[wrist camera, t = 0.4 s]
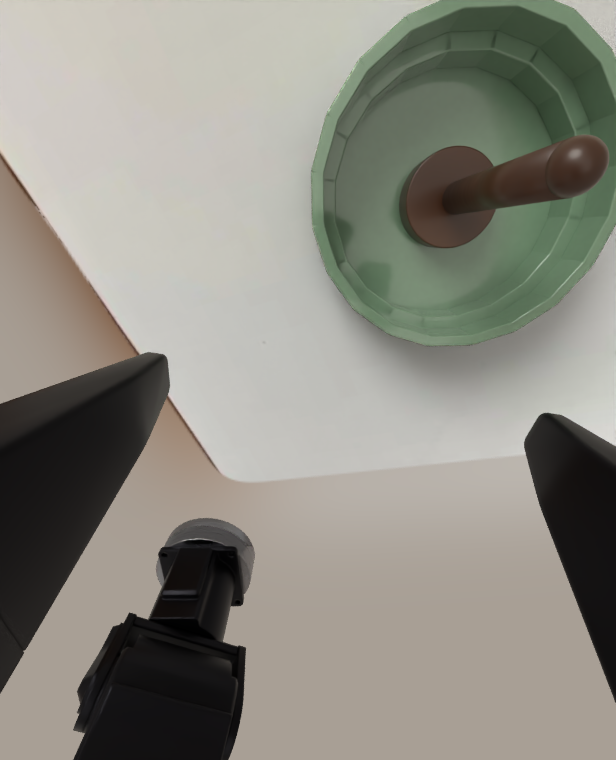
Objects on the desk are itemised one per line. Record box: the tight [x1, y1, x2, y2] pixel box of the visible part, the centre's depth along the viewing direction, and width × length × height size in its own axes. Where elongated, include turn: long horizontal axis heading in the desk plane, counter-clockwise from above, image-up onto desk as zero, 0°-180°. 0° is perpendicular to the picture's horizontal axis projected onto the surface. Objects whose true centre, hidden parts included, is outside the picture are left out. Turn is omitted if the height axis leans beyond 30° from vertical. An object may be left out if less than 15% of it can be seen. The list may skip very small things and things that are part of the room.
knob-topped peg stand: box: [399, 134, 609, 248], centre depth 16 cm, size 5×5×12 cm
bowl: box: [311, 0, 616, 346], centre depth 20 cm, size 15×15×4 cm
